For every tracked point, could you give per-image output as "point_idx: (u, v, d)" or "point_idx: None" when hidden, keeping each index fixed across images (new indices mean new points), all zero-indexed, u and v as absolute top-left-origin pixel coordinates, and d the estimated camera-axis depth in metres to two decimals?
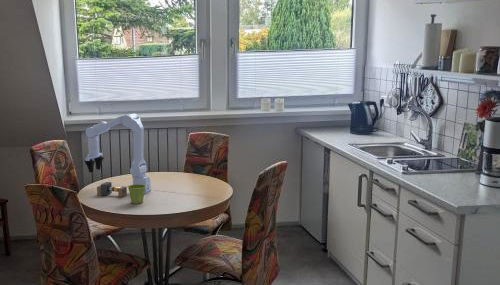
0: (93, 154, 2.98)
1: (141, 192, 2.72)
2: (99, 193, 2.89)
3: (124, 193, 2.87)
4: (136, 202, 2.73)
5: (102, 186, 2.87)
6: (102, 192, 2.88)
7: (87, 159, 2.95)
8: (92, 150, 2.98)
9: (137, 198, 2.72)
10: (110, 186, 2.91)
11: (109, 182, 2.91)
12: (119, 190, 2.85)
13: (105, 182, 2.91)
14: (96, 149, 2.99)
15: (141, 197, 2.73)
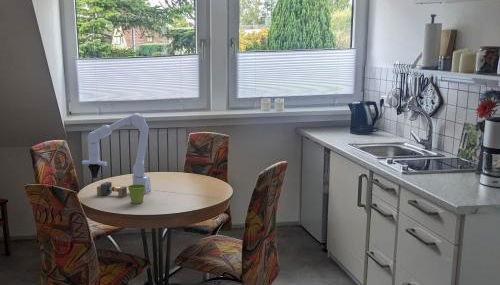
0: None
1: (141, 192, 2.72)
2: (99, 193, 2.89)
3: (124, 193, 2.87)
4: (136, 202, 2.73)
5: (102, 186, 2.87)
6: (102, 192, 2.88)
7: None
8: None
9: (137, 198, 2.72)
10: (110, 186, 2.91)
11: (109, 182, 2.91)
12: (119, 190, 2.85)
13: (105, 182, 2.91)
14: (89, 155, 2.86)
15: (141, 197, 2.73)
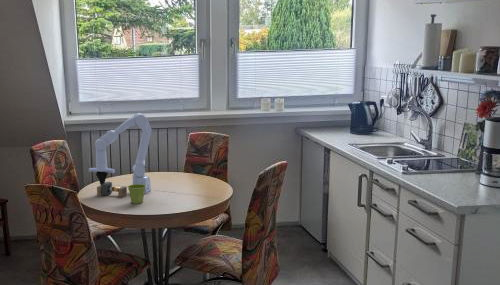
0: (96, 167, 2.88)
1: (141, 192, 2.72)
2: (99, 193, 2.89)
3: (124, 193, 2.87)
4: (136, 202, 2.73)
5: (102, 186, 2.87)
6: (102, 192, 2.88)
7: None
8: None
9: (137, 198, 2.72)
10: (110, 186, 2.91)
11: (109, 182, 2.91)
12: (119, 190, 2.85)
13: (105, 182, 2.91)
14: (97, 163, 2.86)
15: (141, 197, 2.73)
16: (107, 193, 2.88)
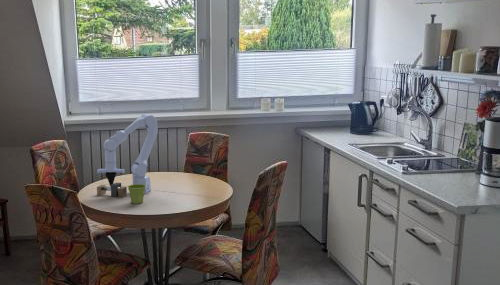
0: (105, 168, 2.86)
1: (141, 192, 2.72)
2: (99, 193, 2.89)
3: (124, 193, 2.87)
4: (136, 202, 2.73)
5: (112, 187, 2.85)
6: (112, 193, 2.86)
7: None
8: (105, 163, 2.86)
9: (137, 198, 2.72)
10: None
11: (119, 183, 2.90)
12: (119, 190, 2.85)
13: (115, 183, 2.90)
14: (107, 163, 2.84)
15: (141, 197, 2.73)
16: (116, 194, 2.87)
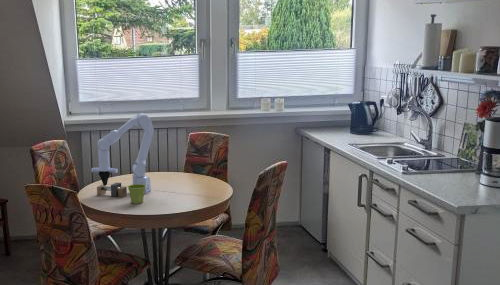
0: (99, 167, 2.87)
1: (141, 192, 2.72)
2: (99, 193, 2.89)
3: (124, 193, 2.87)
4: (136, 202, 2.73)
5: (112, 187, 2.85)
6: (112, 193, 2.86)
7: None
8: None
9: (137, 198, 2.72)
10: None
11: (119, 183, 2.90)
12: (119, 190, 2.85)
13: (115, 183, 2.90)
14: (100, 162, 2.85)
15: (141, 197, 2.73)
16: (117, 194, 2.87)
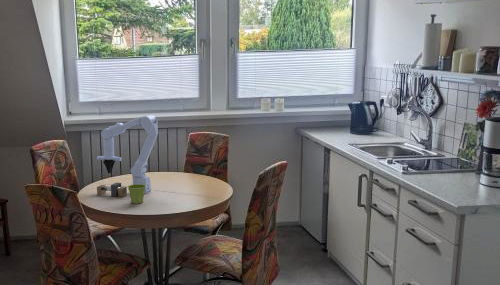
0: None
1: (141, 192, 2.72)
2: (99, 193, 2.89)
3: (124, 193, 2.87)
4: (136, 202, 2.73)
5: (112, 187, 2.85)
6: (112, 193, 2.86)
7: None
8: None
9: (137, 198, 2.72)
10: None
11: (119, 183, 2.90)
12: (119, 190, 2.85)
13: (115, 183, 2.90)
14: (104, 151, 2.94)
15: (141, 197, 2.73)
16: (117, 194, 2.87)
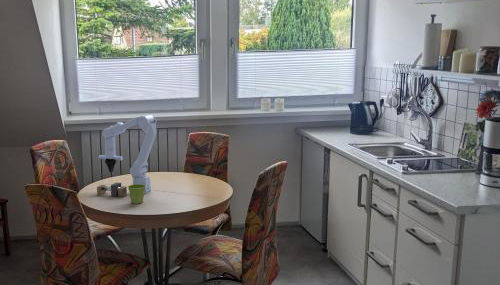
0: (105, 154, 2.99)
1: (141, 192, 2.72)
2: (99, 193, 2.89)
3: (124, 193, 2.87)
4: (136, 202, 2.73)
5: (112, 187, 2.85)
6: (112, 193, 2.86)
7: None
8: None
9: (137, 198, 2.72)
10: None
11: (119, 183, 2.90)
12: (119, 190, 2.85)
13: (115, 183, 2.90)
14: (106, 150, 2.97)
15: (141, 197, 2.73)
16: (117, 194, 2.87)
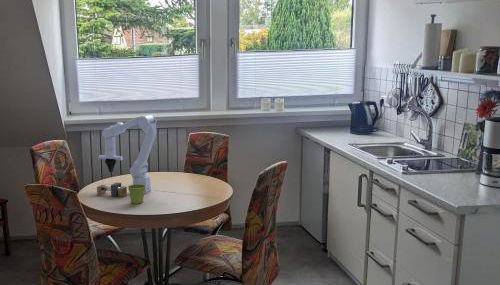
0: (105, 154, 2.99)
1: (141, 192, 2.72)
2: (99, 193, 2.89)
3: (124, 193, 2.87)
4: (136, 202, 2.73)
5: (112, 187, 2.85)
6: (112, 193, 2.86)
7: None
8: None
9: (137, 198, 2.72)
10: None
11: (119, 183, 2.90)
12: (119, 190, 2.85)
13: (115, 183, 2.90)
14: (106, 150, 2.97)
15: (141, 197, 2.73)
16: (117, 194, 2.87)
